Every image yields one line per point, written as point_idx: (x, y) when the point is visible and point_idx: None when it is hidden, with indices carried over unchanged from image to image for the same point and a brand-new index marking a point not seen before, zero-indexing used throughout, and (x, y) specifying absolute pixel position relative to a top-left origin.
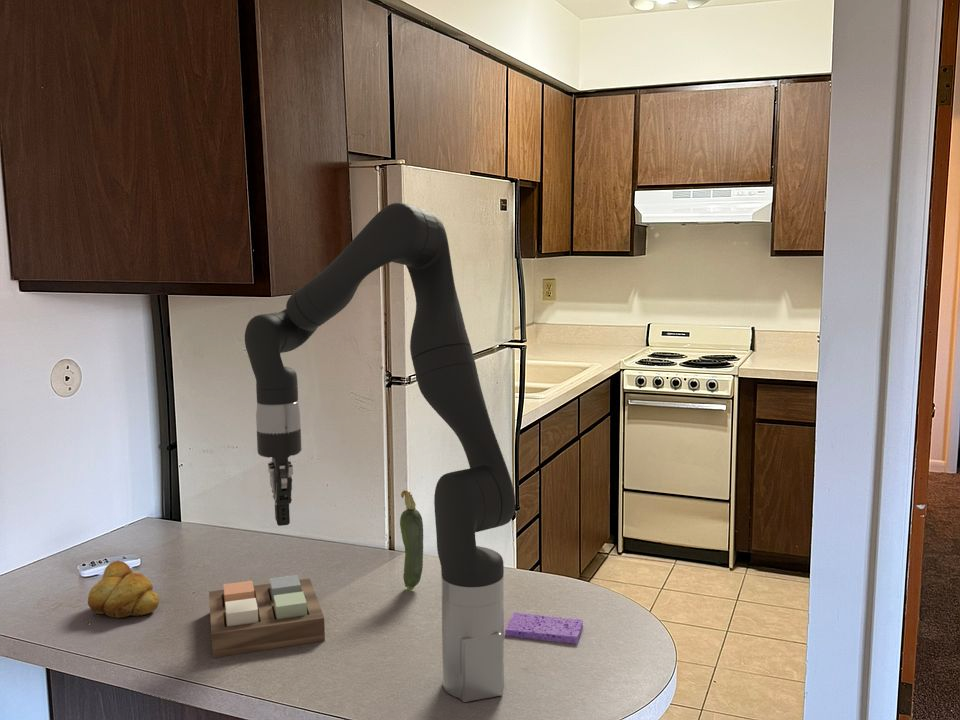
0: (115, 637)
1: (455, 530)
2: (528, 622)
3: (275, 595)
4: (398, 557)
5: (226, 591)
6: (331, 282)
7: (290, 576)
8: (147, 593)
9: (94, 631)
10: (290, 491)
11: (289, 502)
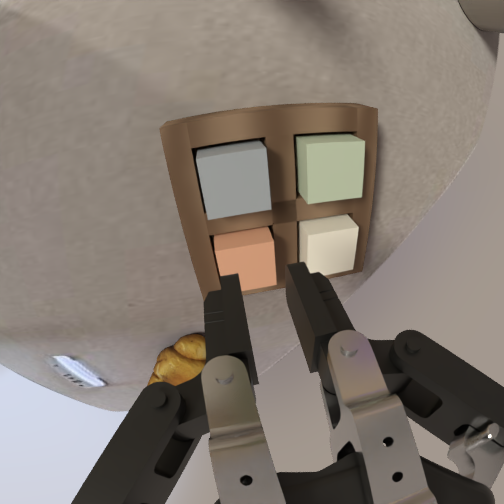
0: (256, 345)
1: None
2: None
3: (309, 200)
4: (14, 5)
5: (261, 284)
6: None
7: (204, 174)
8: (198, 357)
9: None
10: (484, 377)
11: (420, 338)
